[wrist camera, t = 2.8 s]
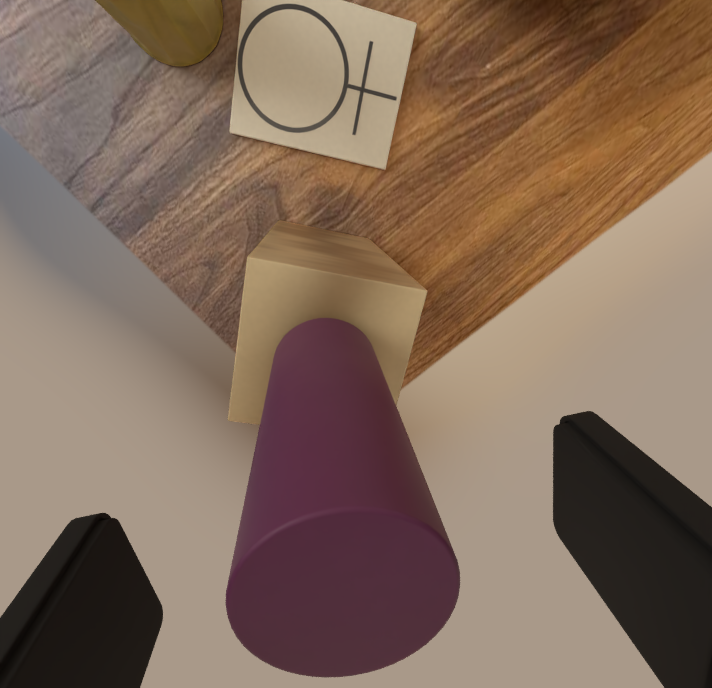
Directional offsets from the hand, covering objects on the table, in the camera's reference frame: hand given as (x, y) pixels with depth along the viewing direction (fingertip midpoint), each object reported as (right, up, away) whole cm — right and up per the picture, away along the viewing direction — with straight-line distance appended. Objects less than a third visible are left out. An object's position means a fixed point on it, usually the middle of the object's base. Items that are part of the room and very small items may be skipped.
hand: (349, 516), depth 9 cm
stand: (-3, +9, +24) cm, 26 cm away
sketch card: (-2, +21, +19) cm, 29 cm away
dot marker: (-1, +3, +8) cm, 9 cm away
